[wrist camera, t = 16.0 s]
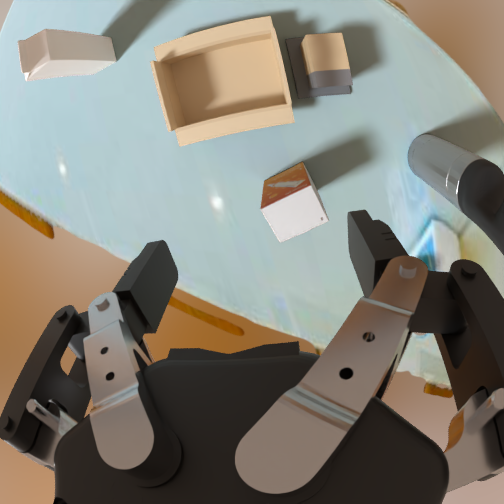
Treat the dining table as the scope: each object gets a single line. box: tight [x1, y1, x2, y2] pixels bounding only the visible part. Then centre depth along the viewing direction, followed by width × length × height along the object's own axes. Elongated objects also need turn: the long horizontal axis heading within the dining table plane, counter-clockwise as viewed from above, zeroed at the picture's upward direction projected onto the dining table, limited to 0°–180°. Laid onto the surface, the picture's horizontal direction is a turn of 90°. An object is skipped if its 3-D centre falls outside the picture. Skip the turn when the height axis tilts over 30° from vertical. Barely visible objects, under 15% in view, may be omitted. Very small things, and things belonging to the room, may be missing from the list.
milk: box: [18, 29, 117, 81], centre depth 27 cm, size 6×6×22 cm
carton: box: [150, 16, 295, 146], centre depth 36 cm, size 19×18×8 cm
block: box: [300, 33, 353, 89], centre depth 32 cm, size 5×8×9 cm, turn 12°
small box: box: [261, 162, 329, 242], centre depth 44 cm, size 8×6×13 cm
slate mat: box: [286, 37, 351, 99], centre depth 36 cm, size 9×11×1 cm
